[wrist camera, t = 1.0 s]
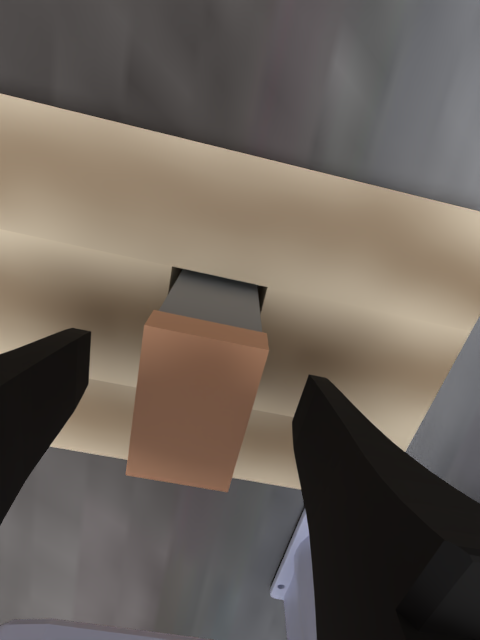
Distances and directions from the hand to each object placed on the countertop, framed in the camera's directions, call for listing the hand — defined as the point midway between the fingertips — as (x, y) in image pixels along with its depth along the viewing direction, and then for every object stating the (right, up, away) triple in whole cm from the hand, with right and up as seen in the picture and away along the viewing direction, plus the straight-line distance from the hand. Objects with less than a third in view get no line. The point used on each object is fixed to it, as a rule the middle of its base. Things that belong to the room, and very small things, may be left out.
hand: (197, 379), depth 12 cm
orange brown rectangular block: (0, +2, +5) cm, 6 cm away
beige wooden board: (0, +2, +5) cm, 6 cm away
